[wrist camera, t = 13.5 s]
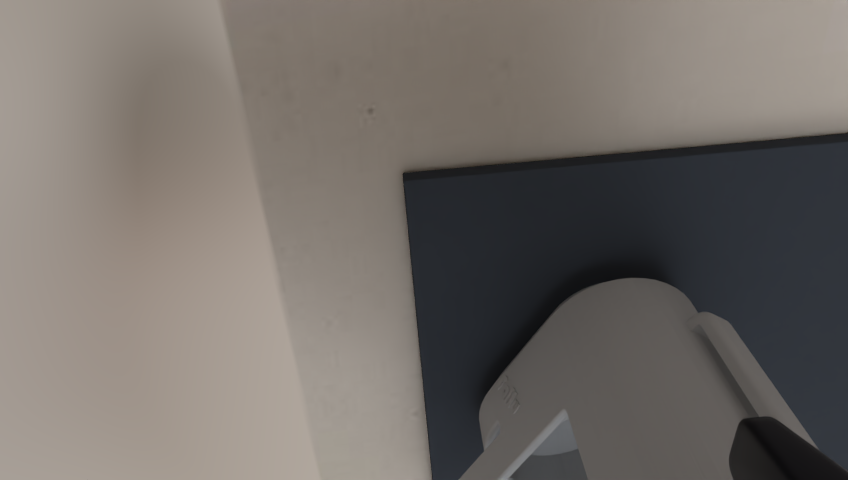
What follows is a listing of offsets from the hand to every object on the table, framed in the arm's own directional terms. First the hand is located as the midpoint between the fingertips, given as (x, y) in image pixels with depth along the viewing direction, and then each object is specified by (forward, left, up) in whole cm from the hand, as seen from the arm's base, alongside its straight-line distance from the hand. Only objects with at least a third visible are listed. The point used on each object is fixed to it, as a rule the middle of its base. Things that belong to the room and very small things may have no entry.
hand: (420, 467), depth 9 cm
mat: (+10, -14, -13) cm, 22 cm away
